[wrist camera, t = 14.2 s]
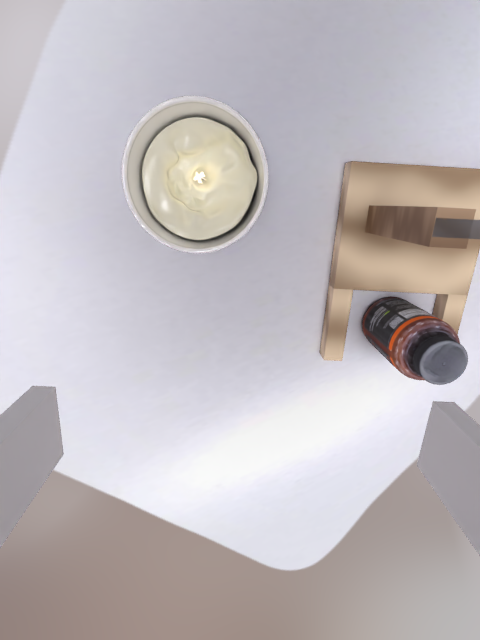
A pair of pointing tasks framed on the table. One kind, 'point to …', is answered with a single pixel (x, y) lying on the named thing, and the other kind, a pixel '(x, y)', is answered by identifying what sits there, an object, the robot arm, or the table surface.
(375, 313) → the supplement bottle
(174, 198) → the candle holder
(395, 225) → the hook post
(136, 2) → the table surface
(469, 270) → the oak forked base
